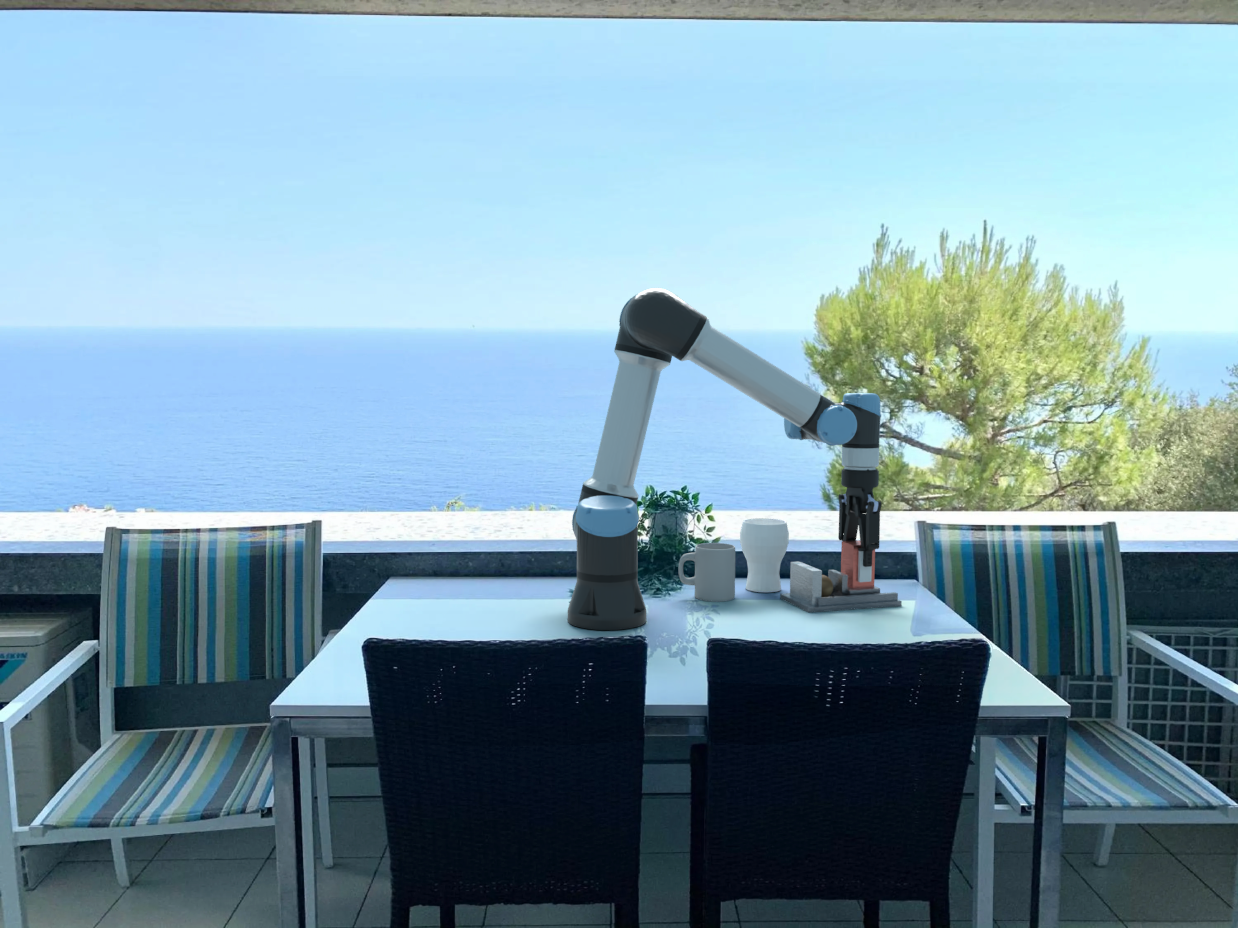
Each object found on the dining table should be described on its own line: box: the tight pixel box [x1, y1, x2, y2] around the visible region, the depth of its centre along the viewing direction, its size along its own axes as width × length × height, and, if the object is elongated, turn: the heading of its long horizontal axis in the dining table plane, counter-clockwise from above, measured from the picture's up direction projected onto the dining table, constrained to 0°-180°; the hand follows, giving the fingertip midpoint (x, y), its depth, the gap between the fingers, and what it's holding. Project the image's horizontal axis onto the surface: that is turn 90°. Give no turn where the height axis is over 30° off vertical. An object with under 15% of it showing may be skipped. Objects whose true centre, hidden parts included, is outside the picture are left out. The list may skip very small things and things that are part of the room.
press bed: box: [779, 561, 903, 613], centre depth 213 cm, size 21×13×8 cm, turn 107°
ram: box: [827, 539, 881, 596], centre depth 213 cm, size 8×8×11 cm
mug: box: [677, 542, 736, 603], centre depth 217 cm, size 12×8×11 cm
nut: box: [821, 574, 833, 597], centre depth 212 cm, size 5×5×5 cm
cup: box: [739, 517, 790, 593], centre depth 225 cm, size 11×11×15 cm
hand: (857, 578), depth 214 cm, fingers closed on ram, 5 cm apart
